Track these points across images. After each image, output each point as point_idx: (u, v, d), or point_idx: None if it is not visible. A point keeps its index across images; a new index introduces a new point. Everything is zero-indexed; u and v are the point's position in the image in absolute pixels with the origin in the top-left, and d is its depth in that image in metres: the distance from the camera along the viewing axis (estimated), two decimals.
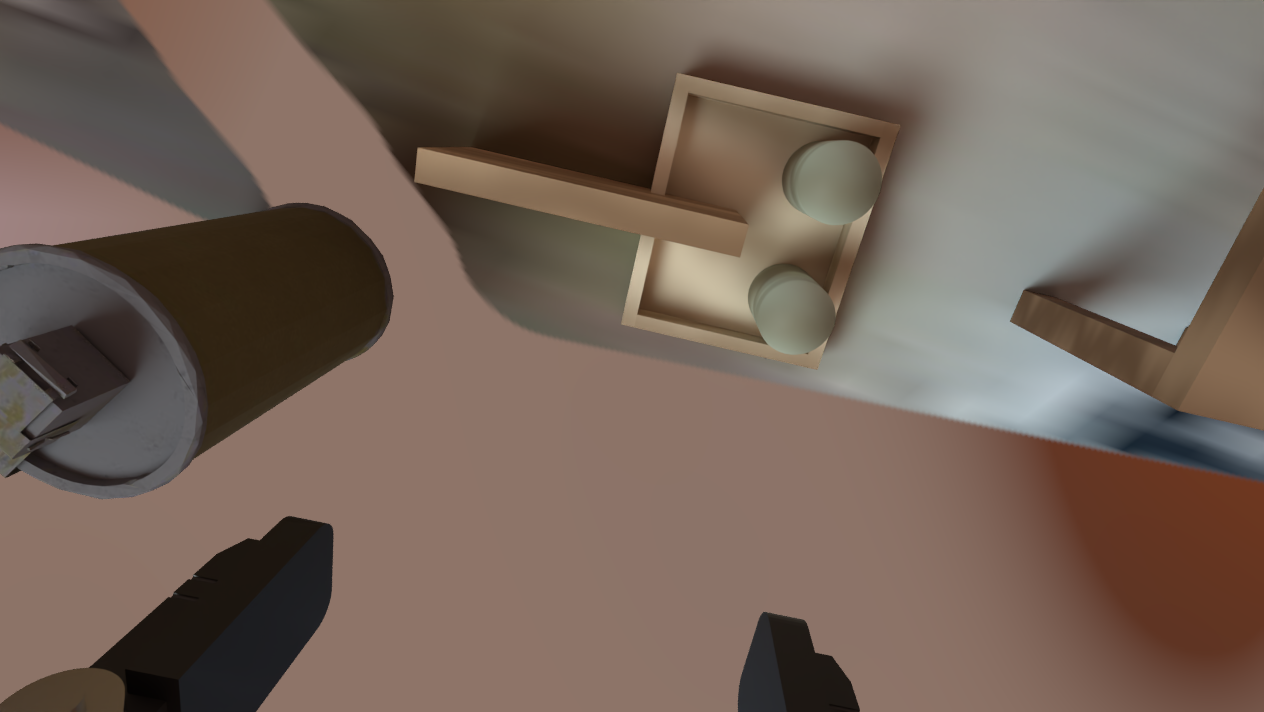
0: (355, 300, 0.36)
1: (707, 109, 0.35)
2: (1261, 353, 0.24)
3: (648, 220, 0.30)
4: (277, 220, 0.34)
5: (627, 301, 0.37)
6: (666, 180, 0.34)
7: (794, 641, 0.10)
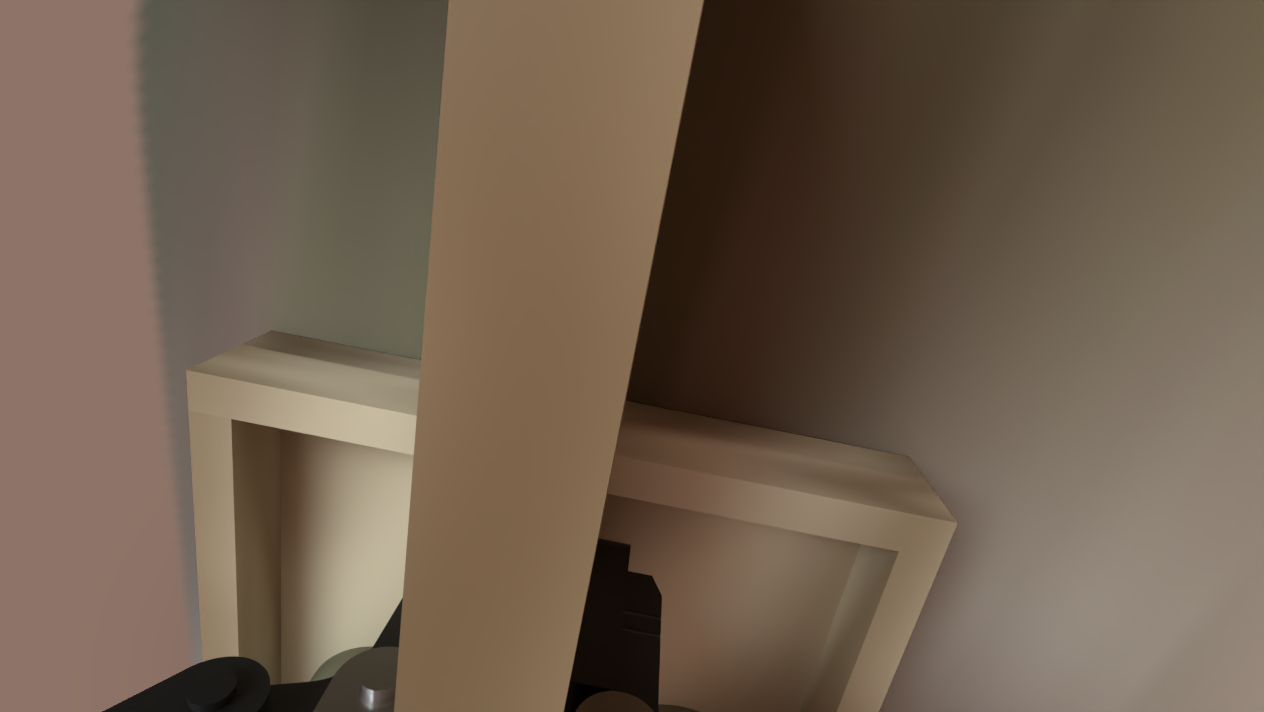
0: None
1: (832, 551, 0.13)
2: None
3: None
4: None
5: (265, 389, 0.11)
6: (651, 499, 0.11)
7: (612, 559, 0.11)
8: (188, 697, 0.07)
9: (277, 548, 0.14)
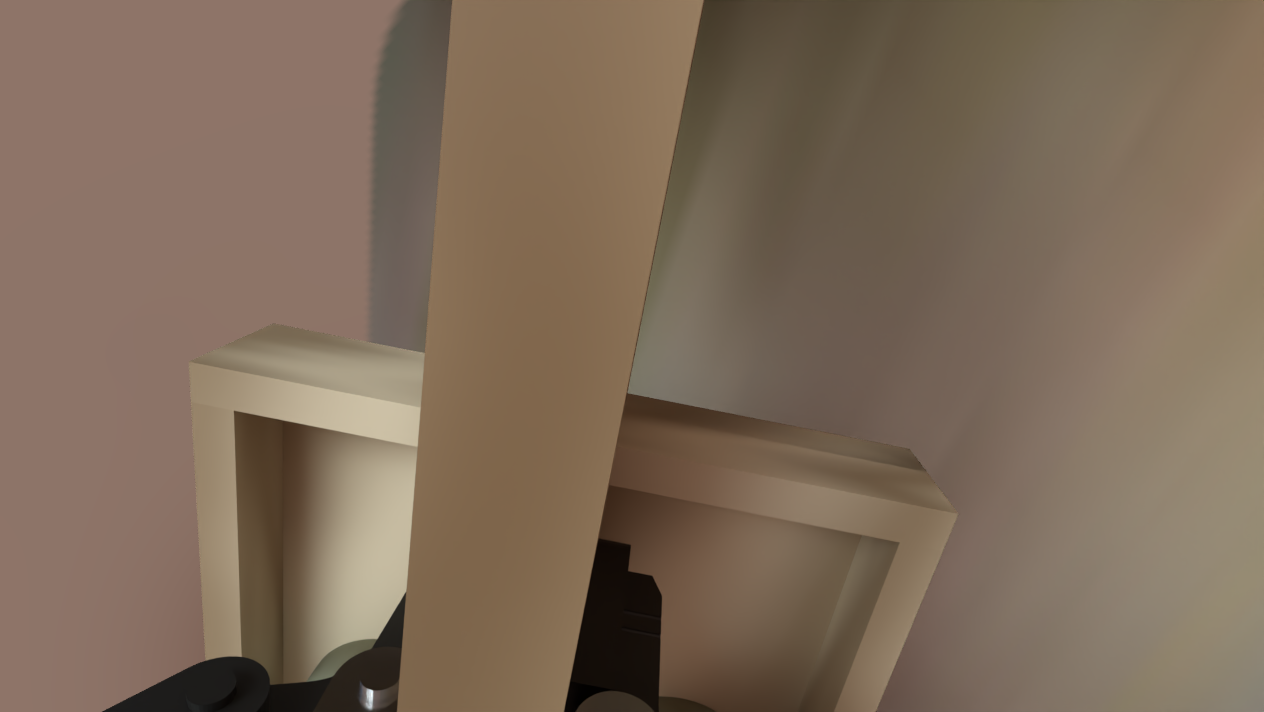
0: None
1: (833, 543, 0.13)
2: None
3: None
4: None
5: (268, 381, 0.11)
6: (653, 490, 0.11)
7: (612, 559, 0.11)
8: (188, 697, 0.07)
9: (279, 540, 0.14)
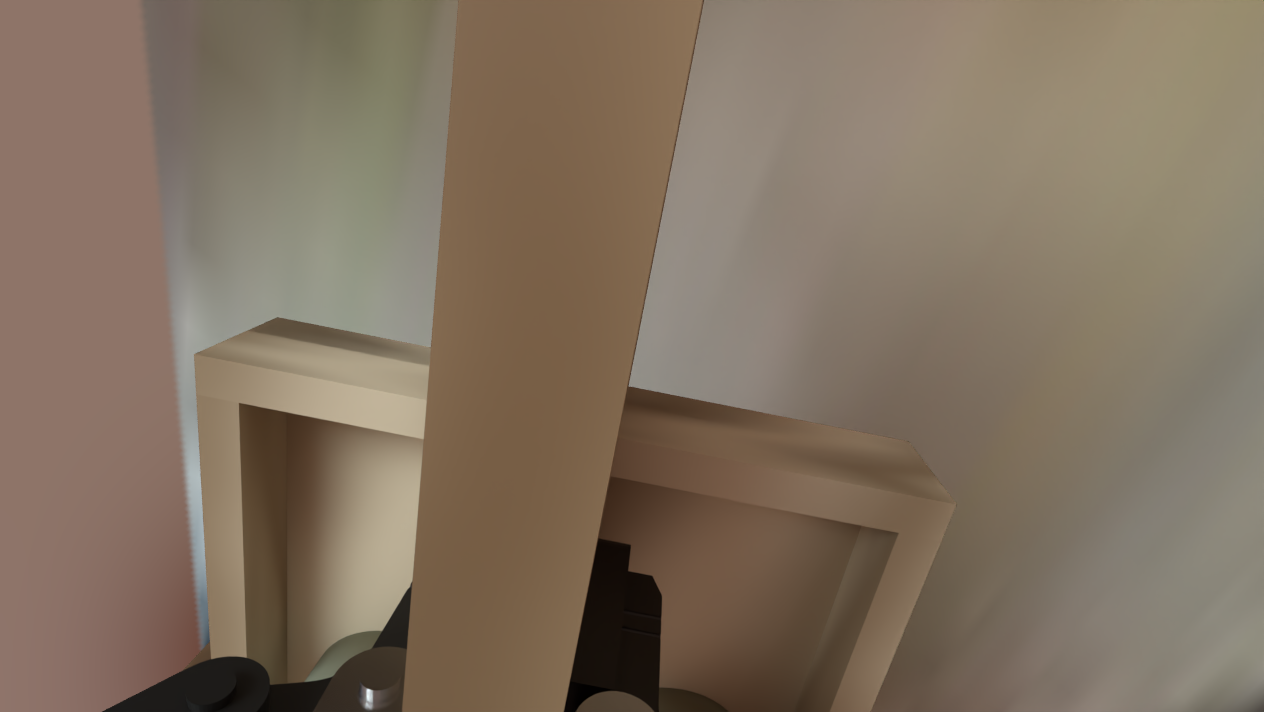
0: None
1: (833, 535, 0.13)
2: None
3: (474, 698, 0.06)
4: None
5: (272, 373, 0.11)
6: (654, 481, 0.11)
7: (612, 559, 0.11)
8: (187, 697, 0.07)
9: (283, 533, 0.14)
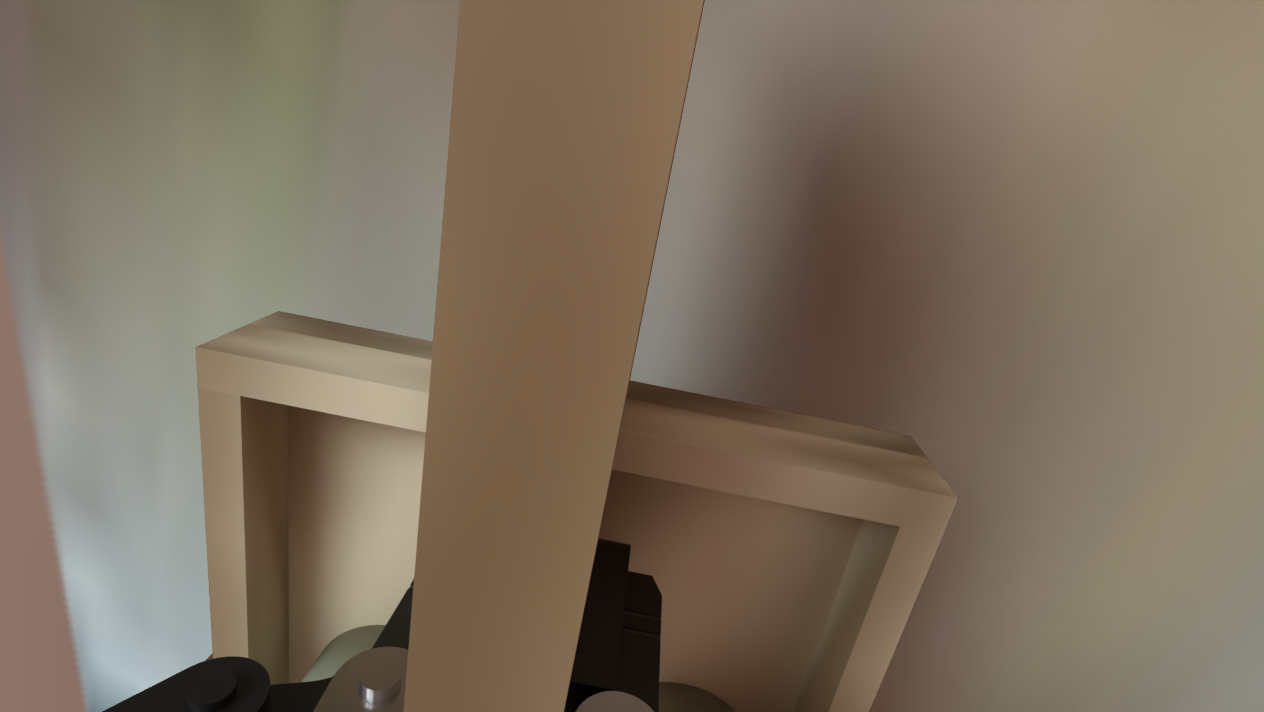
0: None
1: (834, 529, 0.13)
2: None
3: (477, 687, 0.06)
4: None
5: (274, 366, 0.11)
6: (655, 475, 0.11)
7: (612, 559, 0.11)
8: (188, 697, 0.07)
9: (285, 527, 0.14)
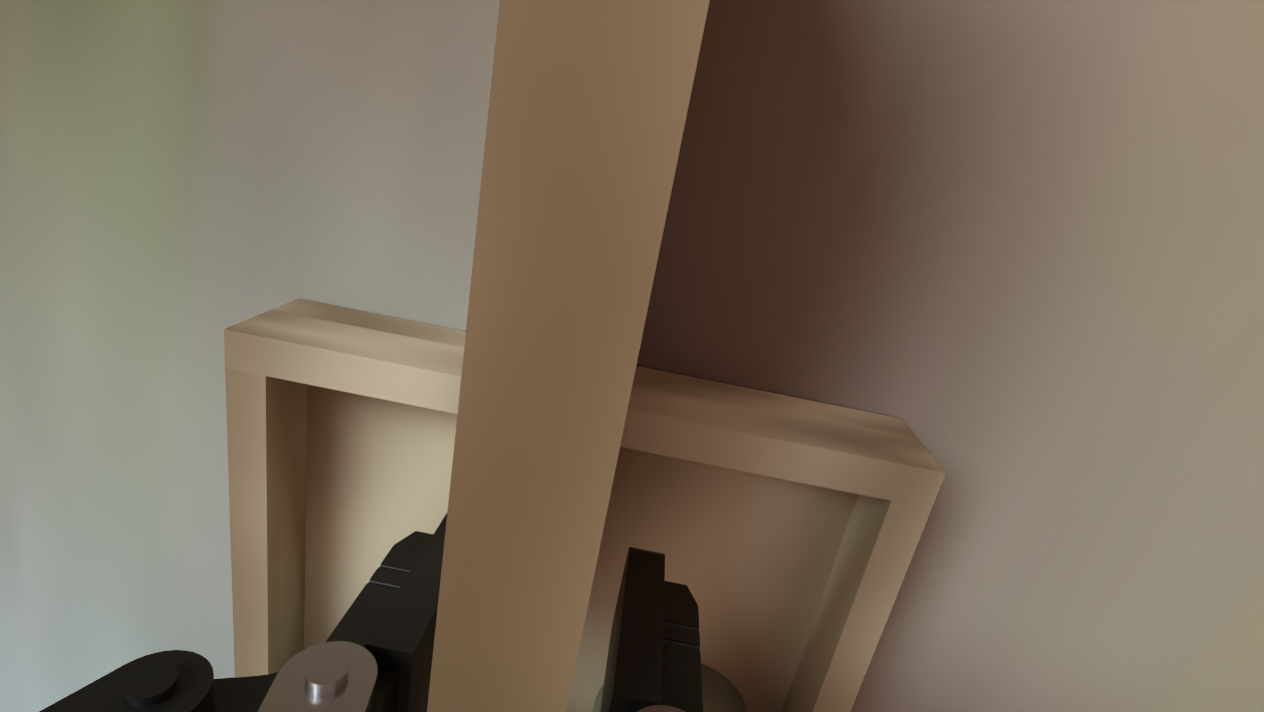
0: None
1: (829, 507, 0.14)
2: None
3: (501, 622, 0.07)
4: None
5: (298, 347, 0.12)
6: (659, 451, 0.12)
7: (648, 569, 0.11)
8: (126, 692, 0.07)
9: (303, 506, 0.15)
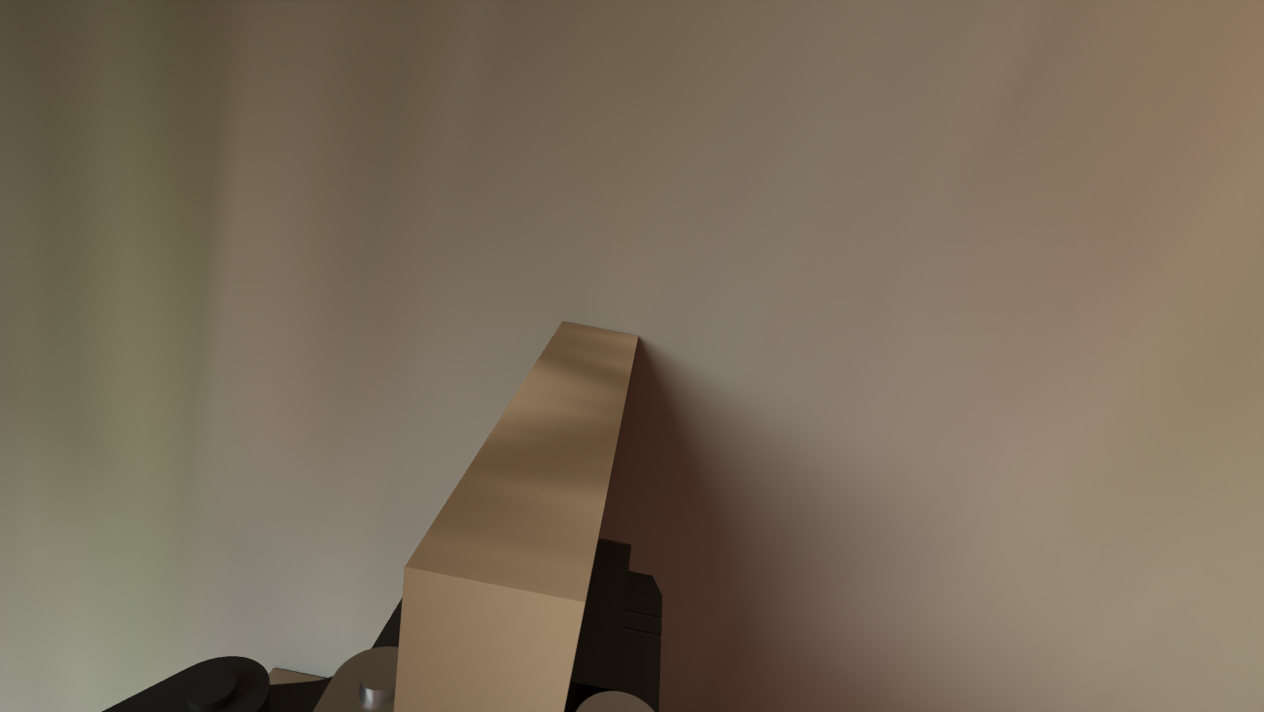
0: None
1: None
2: None
3: None
4: None
5: None
6: None
7: (612, 559, 0.11)
8: (187, 697, 0.07)
9: None
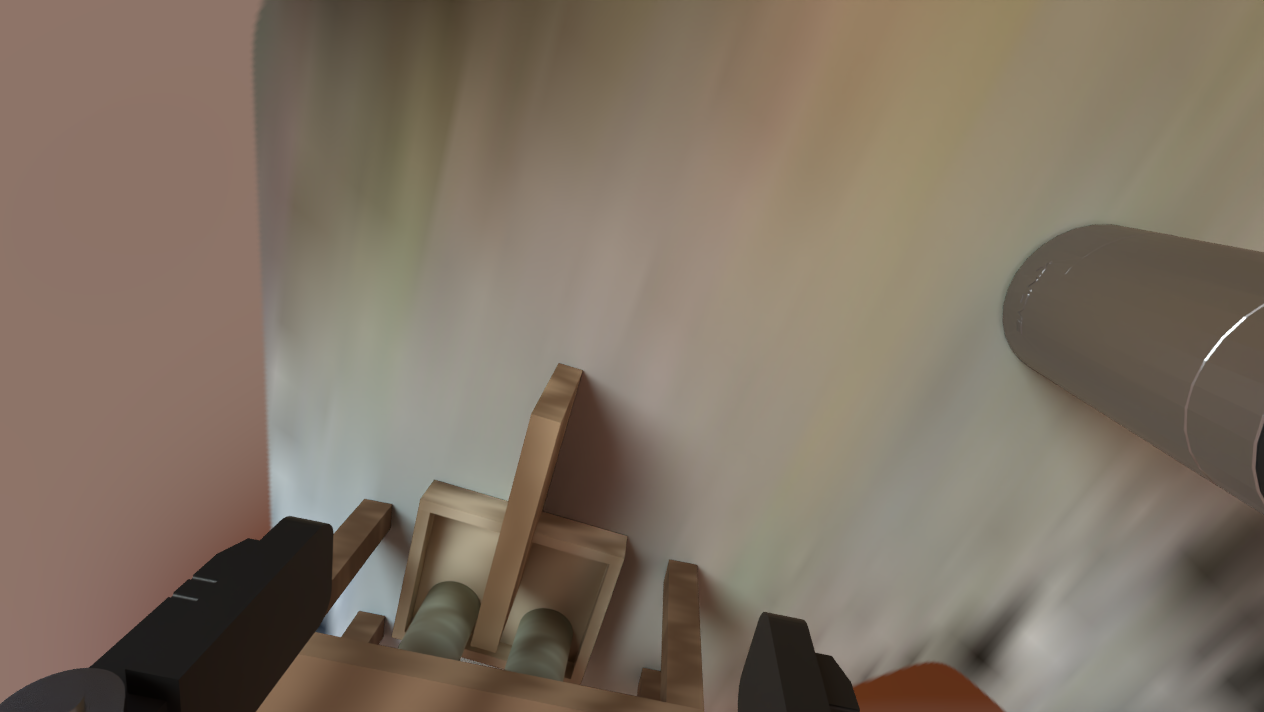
0: None
1: (600, 563, 0.44)
2: (295, 681, 0.32)
3: (498, 588, 0.36)
4: None
5: (441, 506, 0.41)
6: (543, 544, 0.42)
7: (794, 641, 0.10)
8: None
9: (427, 546, 0.44)
